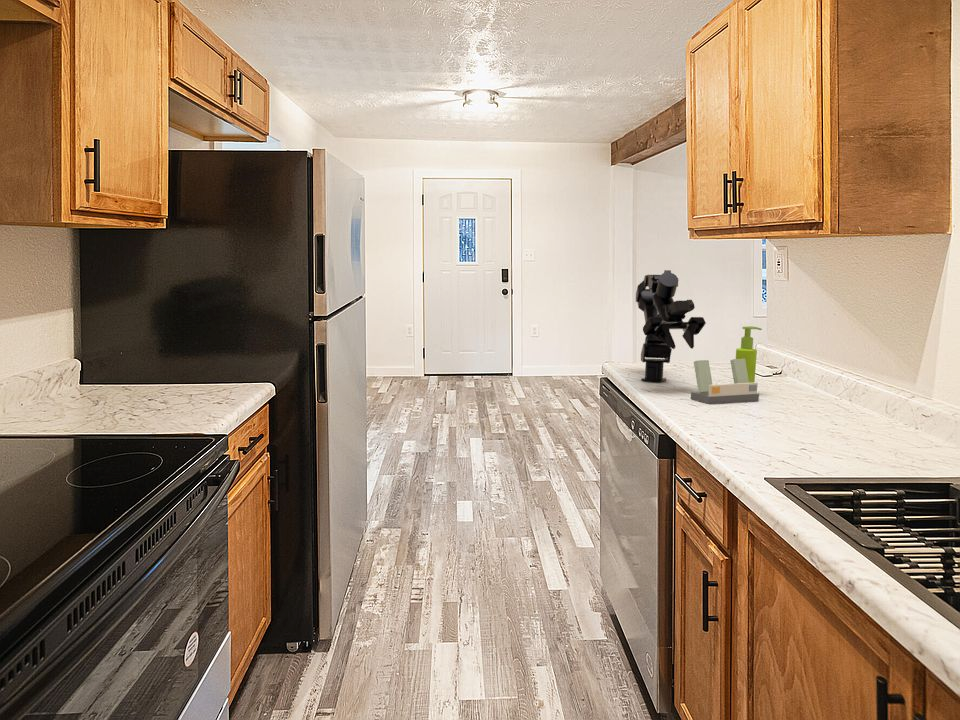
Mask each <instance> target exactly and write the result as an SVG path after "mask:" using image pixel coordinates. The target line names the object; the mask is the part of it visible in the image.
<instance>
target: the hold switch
mask: <svg viewBox="0 0 960 720" xmlns="http://www.w3.org/2000/svg"><path fill="white" fill-rule="evenodd" d="M730 367H731V373H732V379H733V384H736V383H749V380H748V374H747V368H746V362H745V359H736V358H734V359H730Z"/></svg>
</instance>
